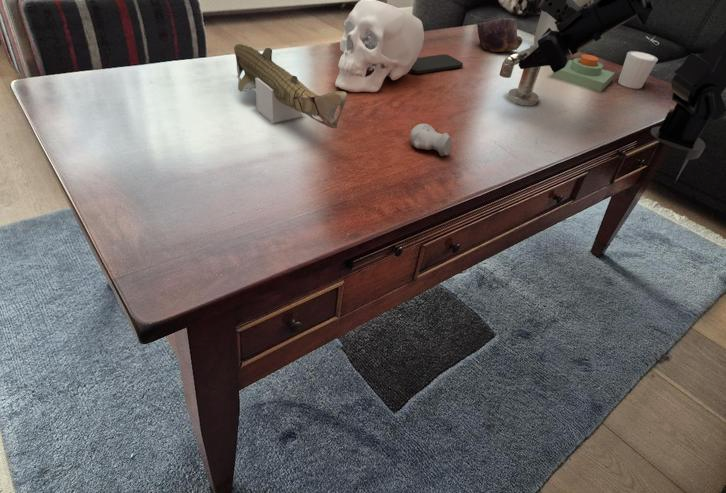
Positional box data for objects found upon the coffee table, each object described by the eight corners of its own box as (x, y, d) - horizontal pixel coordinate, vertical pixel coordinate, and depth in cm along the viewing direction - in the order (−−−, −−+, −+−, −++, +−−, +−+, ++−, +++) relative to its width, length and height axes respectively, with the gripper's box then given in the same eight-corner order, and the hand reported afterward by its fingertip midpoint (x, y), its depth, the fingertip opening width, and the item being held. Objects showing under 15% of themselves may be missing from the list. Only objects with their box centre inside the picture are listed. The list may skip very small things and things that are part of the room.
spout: (530, 59, 102) (535, 41, 99) (544, 64, 100) (550, 46, 98) (494, 74, 93) (499, 54, 90) (510, 79, 91) (515, 60, 89)
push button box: (611, 81, 119) (618, 65, 116) (600, 92, 113) (607, 75, 110) (564, 67, 124) (570, 51, 121) (551, 77, 117) (557, 60, 115)
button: (597, 65, 116) (600, 57, 115) (593, 68, 114) (596, 61, 113) (581, 60, 118) (584, 53, 117) (576, 64, 115) (579, 56, 114)
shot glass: (623, 77, 122) (635, 49, 118) (649, 86, 119) (663, 57, 114) (610, 81, 119) (622, 53, 114) (636, 91, 115) (650, 62, 110)
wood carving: (317, 168, 75) (319, 100, 68) (220, 87, 95) (214, 27, 88) (362, 154, 80) (369, 89, 73) (261, 79, 100) (258, 23, 93)
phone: (397, 60, 114) (446, 53, 121) (396, 63, 115) (445, 57, 121) (415, 71, 109) (465, 63, 116) (414, 75, 110) (464, 67, 117)
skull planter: (307, 72, 100) (343, -22, 94) (362, 96, 116) (396, 17, 111) (353, 95, 93) (395, -5, 88) (405, 117, 109) (443, 34, 104)
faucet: (541, 100, 105) (555, 57, 100) (530, 108, 101) (544, 64, 95) (514, 91, 108) (526, 49, 102) (502, 98, 104) (515, 55, 98)
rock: (487, 46, 136) (465, 50, 130) (492, 13, 132) (469, 16, 126) (523, 52, 129) (501, 57, 123) (529, 17, 124) (507, 20, 118)
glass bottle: (544, 49, 134) (582, -69, 117) (574, 62, 128) (619, -61, 110) (521, 53, 130) (557, -69, 112) (551, 66, 124) (594, -61, 106)
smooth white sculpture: (403, 148, 85) (424, 134, 87) (434, 168, 80) (456, 152, 82) (400, 128, 82) (423, 114, 83) (433, 147, 77) (456, 132, 79)
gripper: (587, -34, 87) (511, 19, 97) (570, -18, 74) (484, 41, 84) (615, 21, 89) (537, 67, 100) (603, 46, 76) (515, 95, 87)
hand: (519, 66), depth 93 cm, fingers closed
